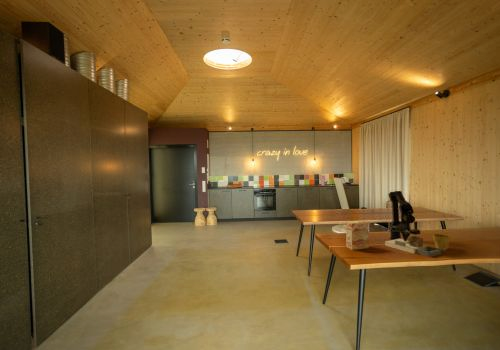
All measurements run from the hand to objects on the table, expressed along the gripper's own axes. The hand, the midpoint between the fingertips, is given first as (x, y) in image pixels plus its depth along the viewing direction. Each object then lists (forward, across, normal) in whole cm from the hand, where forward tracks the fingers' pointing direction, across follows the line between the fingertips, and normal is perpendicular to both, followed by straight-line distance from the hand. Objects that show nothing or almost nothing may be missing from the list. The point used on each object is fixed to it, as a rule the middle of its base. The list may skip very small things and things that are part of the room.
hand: (405, 241), depth 194 cm
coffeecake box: (+5, -16, -32) cm, 36 cm away
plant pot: (+5, +15, +19) cm, 25 cm away
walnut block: (+2, +8, 0) cm, 8 cm away
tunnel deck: (+5, +6, 0) cm, 7 cm away
